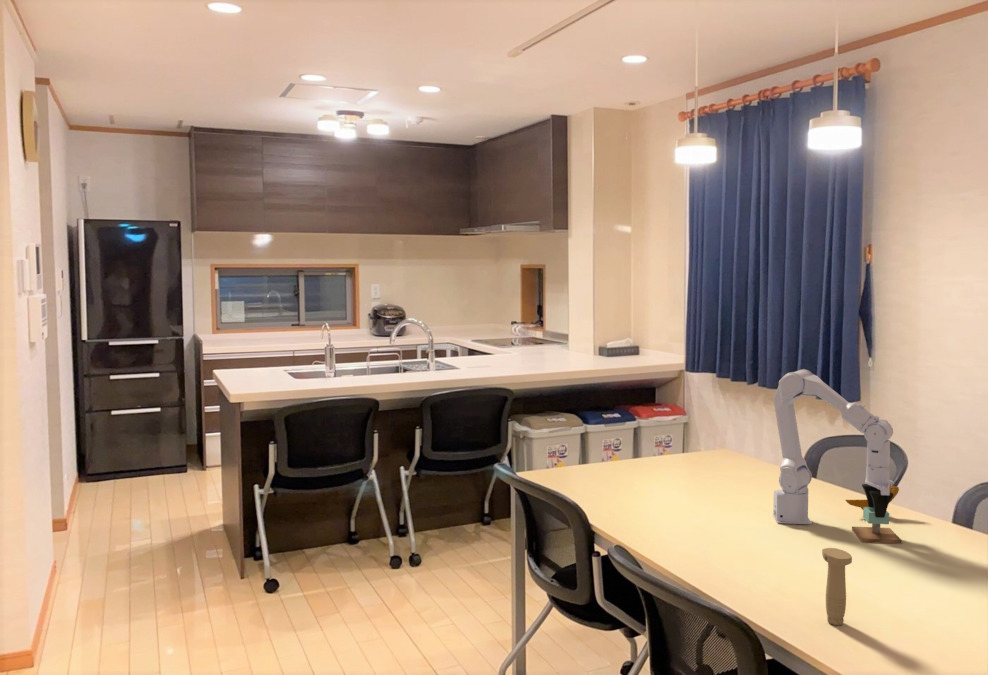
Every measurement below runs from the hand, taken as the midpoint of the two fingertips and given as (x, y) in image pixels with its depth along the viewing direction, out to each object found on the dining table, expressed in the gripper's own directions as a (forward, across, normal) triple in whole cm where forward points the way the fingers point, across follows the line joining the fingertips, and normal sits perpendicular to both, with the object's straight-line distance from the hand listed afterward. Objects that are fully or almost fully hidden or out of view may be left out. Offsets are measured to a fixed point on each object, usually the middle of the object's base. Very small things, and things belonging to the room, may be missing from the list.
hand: (876, 513), depth 219 cm
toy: (+7, +19, -4) cm, 21 cm away
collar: (+2, 0, 0) cm, 2 cm away
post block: (+6, 0, 0) cm, 6 cm away
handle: (+7, -57, +24) cm, 62 cm away
